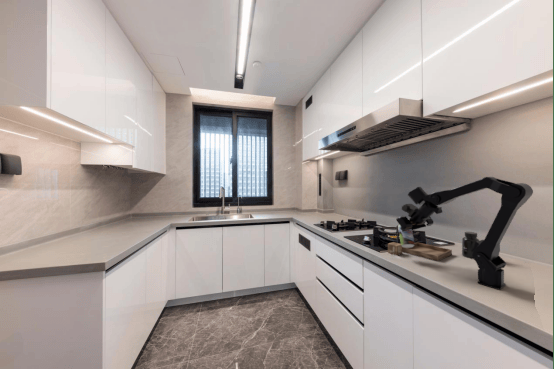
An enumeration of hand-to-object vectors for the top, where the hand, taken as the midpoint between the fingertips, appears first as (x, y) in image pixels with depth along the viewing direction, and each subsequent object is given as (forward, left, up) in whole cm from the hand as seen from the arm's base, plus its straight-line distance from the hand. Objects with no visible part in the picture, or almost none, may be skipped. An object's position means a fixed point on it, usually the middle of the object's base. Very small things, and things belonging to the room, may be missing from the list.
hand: (404, 230), depth 120 cm
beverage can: (-3, +3, -8) cm, 9 cm away
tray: (-4, -13, -13) cm, 19 cm away
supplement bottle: (-19, -25, -13) cm, 34 cm away
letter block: (+6, -1, -13) cm, 15 cm away
